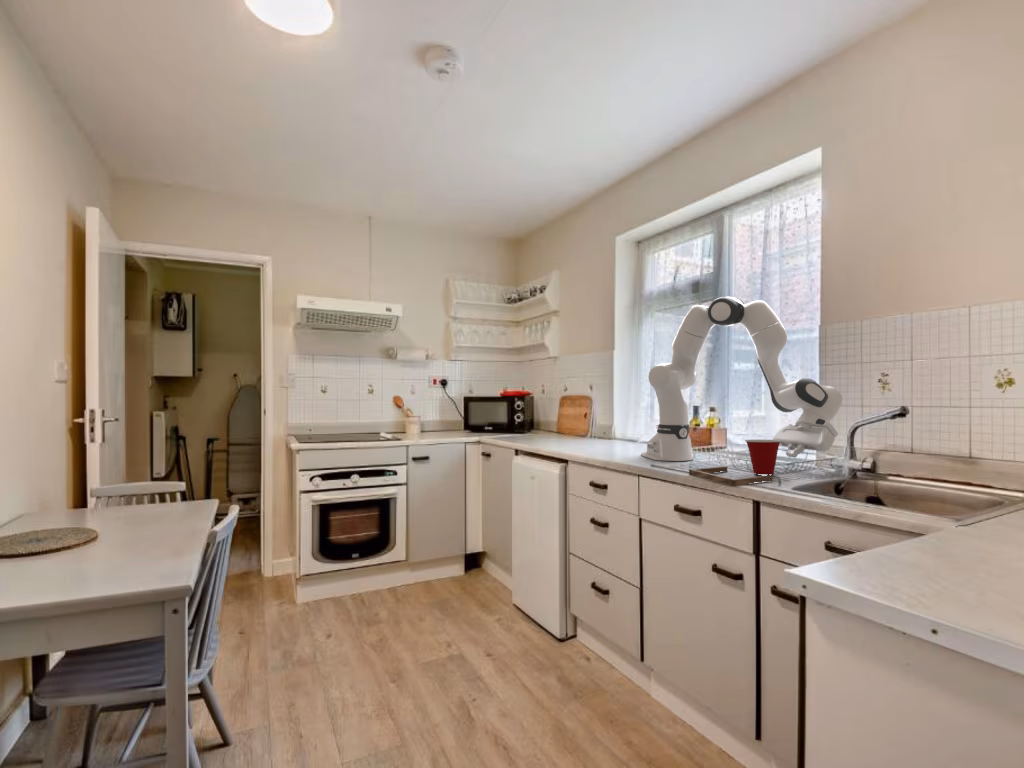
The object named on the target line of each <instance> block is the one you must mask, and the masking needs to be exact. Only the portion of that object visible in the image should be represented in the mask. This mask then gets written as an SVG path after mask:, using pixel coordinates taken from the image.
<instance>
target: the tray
mask: <svg viewBox="0 0 1024 768" xmlns="http://www.w3.org/2000/svg"><path fill="white" fill-rule="evenodd" d="M720 471H727V472H728V466H725V465H724V466H723V465H722V466H713V467H712V466H711V467H704V468H703V467H700V468H692V469H688V475H689V476H693V477H696V478H700V479H704V480H708V481H712V482H716V483H720V484H725V485H729V486H733V487H737V486H746V485H745V484H747V485H750V484H749V483H754V482H762V481H772V482H773V476H770V475H767V476H759V475H756V476H750V477H741V478H730V477H727V476H724V475H718V474H715V473H714V472H720ZM710 473H711V474H710Z"/></svg>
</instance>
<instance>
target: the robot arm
mask: <svg viewBox="0 0 1024 768" xmlns="http://www.w3.org/2000/svg"><path fill="white" fill-rule="evenodd" d="M736 324H740V325H742V326H743V327H744V328H745V330H746V331H747V333H748V336H749V337H750V338H751V341H752V343H753V345H754V348H755V352H756V360H757V363H758V365H759V368H760V371H761V372H762V374H763V377H764V380H765V382H766V384H767V386H768V388H769V393H770V397H771V398H770V399H771V403H772V404H773V406H774V407H775V408H776V409H777V410H778V411H780V412H783V413H792V412H794V411H797V410H798V409H802V411H803V412H802V413H801V415H800V416H799V417H798V419H797V420H796V422H795V424H791V423H788V424H787V425H786V424H785V425H783V426H781V427H780V428H779V429H778V431H776V433H775V434H773V436H772V440H781V442H780V444H779V447H785V448H787V451H786V453H785V455H786V456H787V457H788V458H789V457H790V458H795V459H796V458H797V456H798V455H800V454H801V453H803V452H805V450H807V451H814V452H815V451H816V452H827V451H829V450H830V449H831V447H832V445H833V443H834V442H835V440H836V439H835V438H836V437H837V436H838V435H839V433H838V431H837V430H836V428H835V427H834V425H833V424H832V423H831V420H833V419H834V418H835V416H836V415H837V414H838V412H839V410H840V408H841V406H842V404H843V395H842V393H841V392H840V391H839V390H838V389H837V388H835V387H833V386H831V385H823V384H820V383H818V382H817V381H816V380H814V379H812V378H809V377H803V378H800V379H796V380H795V381H792V382H789V383H788V382H787V380H786V378H785V376H784V374H783V372H782V370H781V366H780V364H779V356H780V353H781V352H782V351H783V349H784V347H785V346H786V344H787V341H788V334H787V331H786V328H785V327H784V325H783V322H782V321H781V320H780V318H779V317H778V316H777V314H776V313H775V311H774V310H773V309H772V308H771V307H770V305H769V304H768V303H767V302H766V301H764V300H761V299H760V300H752V301H751V302H748V303H746V304H745V303H744V301H743V300H741V299H740V298H738V297H735V296H730V295H729V296H720V297H718V298H716V299H713V301H712V302H711V303H710V304H709V306H705V305H703V304H701V305H700V304H698V305H694V306H692V307H691V308H690V309H689V311H688V312H687V313H686V315H685V316H684V318H683V320H682V322H681V324H680V326H679V328H678V330H677V332H676V335H675V337H674V339H673V342H672V343H671V349H672V355H671V356H672V357H671V360H670V362H665V363H664V362H663V363H660V364H657V365H655V366H653V367H652V368H651V369H650V371H649V372H648V381H649V384H650V385H651V386H652V388H653V389H654V392H655V395H656V398H657V402H658V414H659V424H658V425H655V428H656V433H655V435H654V436H652V437H651V438H650V439H649V440H648V441H647V444H646V451H645V452H641V453H640V454H641V456H643V457H644V458H647V459H650V460H654V461H668V462H683V461H684V462H685V461H686V462H687V461H692V460H693V459H694V457H695V454H693V449H692V442H691V441H692V440H691V437H690V435H689V433H690V424H689V407H688V403H687V402H686V401H685V398H684V396H683V392H682V391H683V390H686V389H688V388H690V387H692V386H693V385H694V384H695V383H696V381H697V372H696V369H697V368H696V367H697V363H698V360H699V356H700V353H701V351H702V349H703V347H704V345H705V343H706V340H707V339H708V336H709V334H710V331H712V328H713V327H715V326H718V327H719V326H720V327H731V326H733V325H736Z"/></svg>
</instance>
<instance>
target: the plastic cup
mask: <svg viewBox="0 0 1024 768" xmlns="http://www.w3.org/2000/svg"><path fill="white" fill-rule="evenodd" d="M744 440H745V443H746V445H747V449H748V453H749V457H750V461H751V465H752V471H753V474H754V473H756V474H768V475H769V474H773V475H774V473H775V467H776V463H777V456H778V450H779V448H780V446H779V444H780V442H781V440H773V439H744Z"/></svg>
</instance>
